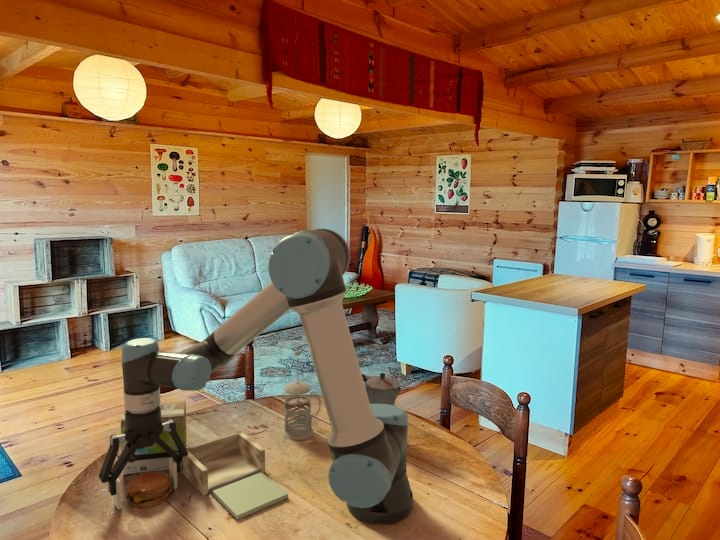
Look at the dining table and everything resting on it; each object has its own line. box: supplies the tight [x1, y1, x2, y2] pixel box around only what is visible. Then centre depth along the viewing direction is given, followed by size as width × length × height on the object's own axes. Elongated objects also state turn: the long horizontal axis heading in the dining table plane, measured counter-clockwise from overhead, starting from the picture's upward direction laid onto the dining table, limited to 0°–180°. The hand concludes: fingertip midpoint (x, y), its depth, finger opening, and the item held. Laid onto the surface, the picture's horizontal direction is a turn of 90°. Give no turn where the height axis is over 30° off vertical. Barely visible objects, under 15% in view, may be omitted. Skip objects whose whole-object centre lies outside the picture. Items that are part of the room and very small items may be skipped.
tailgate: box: [210, 469, 289, 520], centre depth 120 cm, size 13×13×1 cm
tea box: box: [120, 400, 187, 476], centre depth 133 cm, size 15×10×15 cm, turn 106°
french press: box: [280, 350, 322, 441], centre depth 151 cm, size 10×12×25 cm
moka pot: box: [361, 372, 403, 406], centre depth 148 cm, size 10×15×20 cm, turn 58°
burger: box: [125, 471, 173, 509], centre depth 119 cm, size 10×9×5 cm
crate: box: [181, 430, 266, 496], centre depth 130 cm, size 13×16×6 cm
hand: (146, 496), depth 119 cm, fingers open, 12 cm apart
